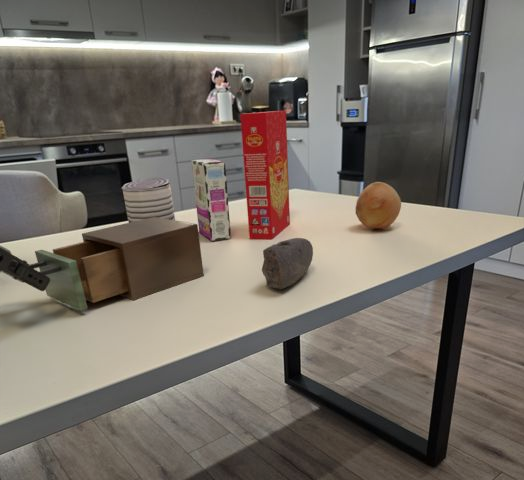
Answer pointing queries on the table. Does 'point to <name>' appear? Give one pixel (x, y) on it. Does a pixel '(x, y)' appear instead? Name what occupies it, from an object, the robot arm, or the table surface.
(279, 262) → the perforated stone tool
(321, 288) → the table surface
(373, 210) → the onion
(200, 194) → the candy bar box
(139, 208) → the can
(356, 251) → the table surface
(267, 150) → the food packaging
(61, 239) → the table surface
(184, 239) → the cabinet
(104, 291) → the drawer
